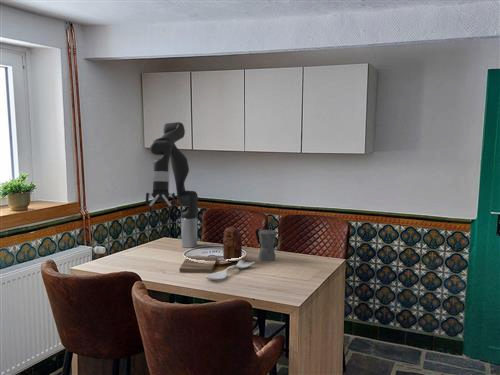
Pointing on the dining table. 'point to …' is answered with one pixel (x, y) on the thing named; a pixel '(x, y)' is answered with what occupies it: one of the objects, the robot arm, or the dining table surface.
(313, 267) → the dining table surface
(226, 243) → the wooden figurine
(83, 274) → the dining table surface
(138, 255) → the dining table surface
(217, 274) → the spoon
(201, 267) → the walnut board
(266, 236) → the coffeepot
